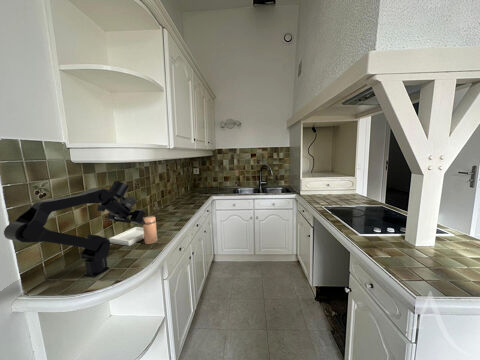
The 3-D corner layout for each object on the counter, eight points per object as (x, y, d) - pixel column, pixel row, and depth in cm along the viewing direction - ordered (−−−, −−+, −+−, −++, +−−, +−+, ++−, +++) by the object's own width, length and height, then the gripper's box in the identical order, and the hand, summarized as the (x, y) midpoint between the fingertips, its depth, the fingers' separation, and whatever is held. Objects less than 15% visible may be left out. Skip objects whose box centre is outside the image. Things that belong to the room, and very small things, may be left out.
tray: (129, 245, 108) (128, 241, 108) (109, 242, 113) (109, 238, 112) (154, 233, 125) (153, 229, 124) (136, 230, 130) (135, 226, 129)
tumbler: (151, 244, 109) (149, 220, 107) (141, 243, 111) (139, 219, 109) (160, 239, 115) (158, 216, 113) (150, 238, 117) (148, 215, 116)
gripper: (140, 193, 94) (159, 210, 106) (110, 191, 100) (131, 207, 112) (127, 215, 87) (149, 230, 99) (96, 212, 94) (120, 226, 106)
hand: (137, 222), depth 104 cm, fingers open, 9 cm apart
